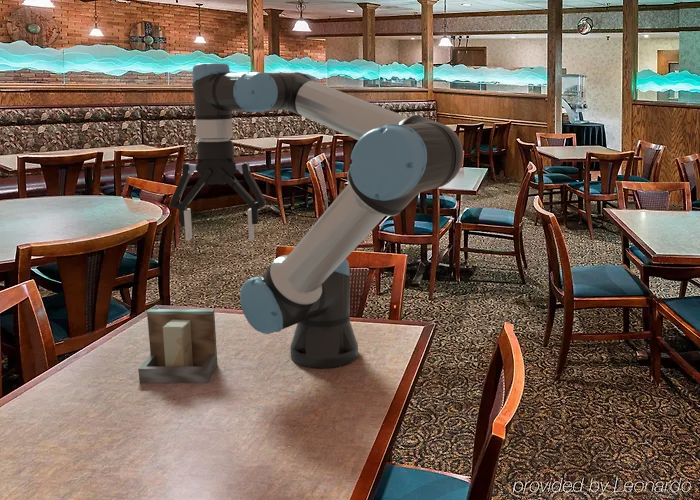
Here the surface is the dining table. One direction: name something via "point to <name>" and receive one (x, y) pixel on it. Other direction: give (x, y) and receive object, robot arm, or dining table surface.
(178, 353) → the box
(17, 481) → the dining table surface
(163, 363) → the cleat board
